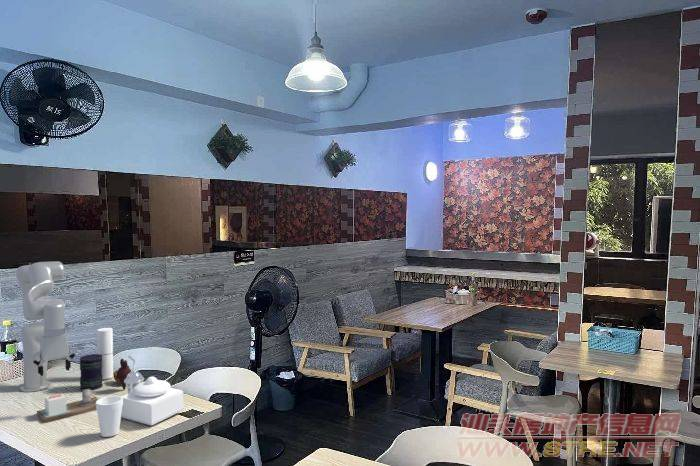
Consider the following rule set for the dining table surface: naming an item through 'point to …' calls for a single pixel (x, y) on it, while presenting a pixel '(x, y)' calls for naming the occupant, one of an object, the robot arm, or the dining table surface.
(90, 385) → the storage jar
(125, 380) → the cup with straw
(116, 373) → the hot dog
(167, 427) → the dining table surface
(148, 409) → the butter dish
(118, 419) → the foam cup
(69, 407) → the post stand
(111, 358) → the cylindrical container
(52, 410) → the white cube with handle
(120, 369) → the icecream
